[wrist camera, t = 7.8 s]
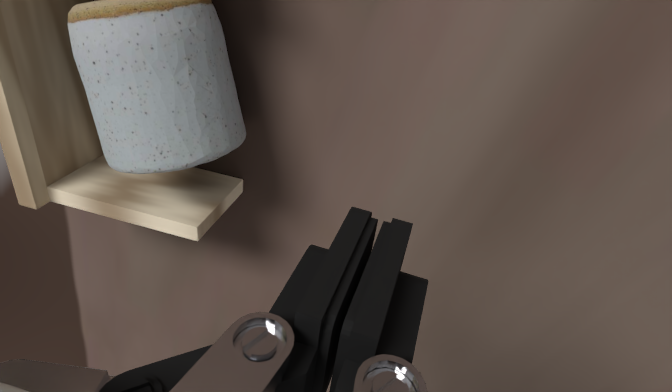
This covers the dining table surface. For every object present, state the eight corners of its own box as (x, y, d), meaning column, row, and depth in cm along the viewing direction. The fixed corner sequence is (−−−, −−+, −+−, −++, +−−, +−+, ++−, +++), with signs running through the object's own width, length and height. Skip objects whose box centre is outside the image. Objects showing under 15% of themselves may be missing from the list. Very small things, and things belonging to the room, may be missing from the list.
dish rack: (248, -187, 20) (155, -245, 14) (242, 191, 30) (188, 251, 24) (38, -210, 21) (-125, -270, 15) (102, 156, 32) (19, 204, 26)
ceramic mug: (236, -20, 23) (144, -8, 17) (268, 126, 27) (203, 181, 21) (82, 4, 26) (-45, 23, 20) (129, 132, 30) (36, 182, 24)
